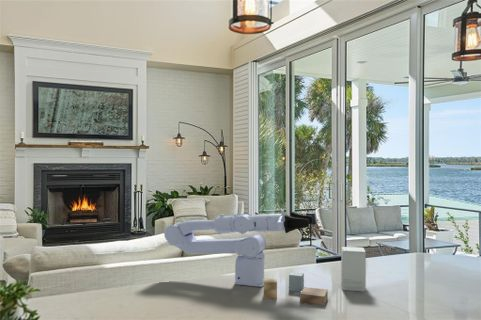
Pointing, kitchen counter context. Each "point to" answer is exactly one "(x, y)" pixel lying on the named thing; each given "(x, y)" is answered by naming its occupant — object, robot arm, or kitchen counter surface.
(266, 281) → the oak block
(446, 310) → the kitchen counter surface
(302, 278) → the slate block
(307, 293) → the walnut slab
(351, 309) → the kitchen counter surface
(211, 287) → the kitchen counter surface
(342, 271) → the supplement box
